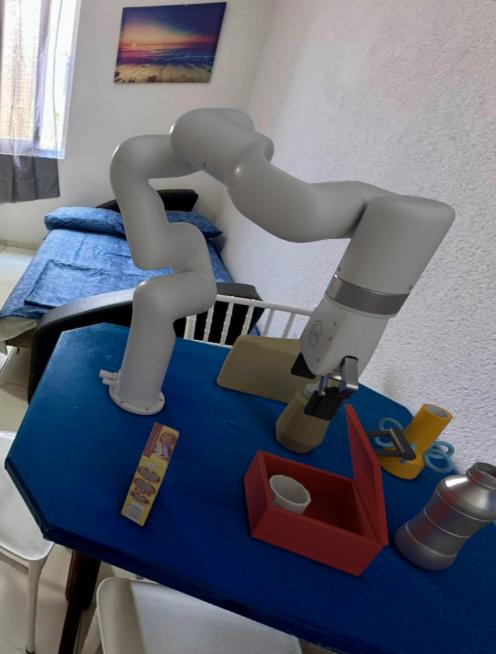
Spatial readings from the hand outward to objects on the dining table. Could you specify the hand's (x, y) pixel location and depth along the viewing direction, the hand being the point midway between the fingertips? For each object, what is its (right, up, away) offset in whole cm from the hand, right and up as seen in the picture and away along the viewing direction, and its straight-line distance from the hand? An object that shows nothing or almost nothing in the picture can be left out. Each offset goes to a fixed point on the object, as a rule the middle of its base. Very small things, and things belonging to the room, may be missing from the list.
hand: (308, 394), depth 61 cm
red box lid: (+9, -12, +1) cm, 15 cm away
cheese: (+21, -9, +40) cm, 46 cm away
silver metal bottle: (+22, -28, +6) cm, 36 cm away
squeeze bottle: (+17, -16, +26) cm, 35 cm away
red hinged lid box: (+6, -24, +10) cm, 27 cm away
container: (+3, -23, +11) cm, 26 cm away
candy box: (-20, -22, +12) cm, 33 cm away
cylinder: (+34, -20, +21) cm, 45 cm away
